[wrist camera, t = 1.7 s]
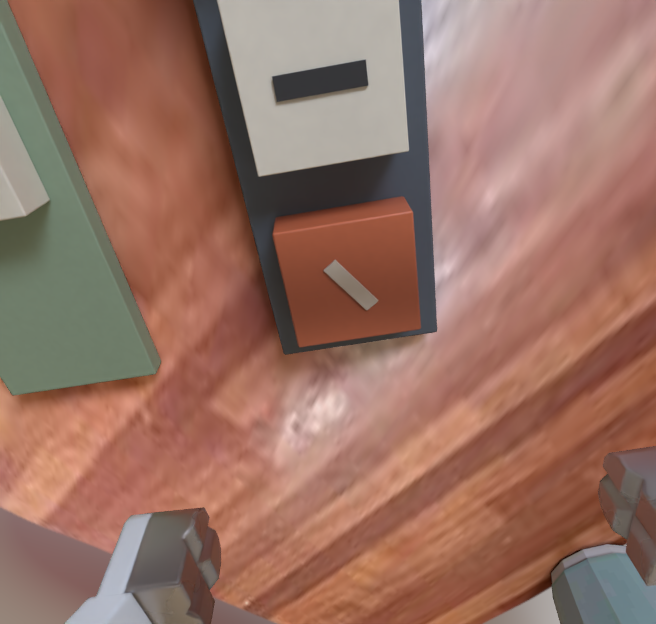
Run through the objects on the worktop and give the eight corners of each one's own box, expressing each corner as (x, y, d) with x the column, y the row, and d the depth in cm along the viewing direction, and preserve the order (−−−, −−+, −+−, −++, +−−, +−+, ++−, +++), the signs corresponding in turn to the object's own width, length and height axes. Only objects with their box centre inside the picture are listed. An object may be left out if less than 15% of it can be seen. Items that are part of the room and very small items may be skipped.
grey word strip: (93, -416, 11) (31, -545, 9) (389, -489, 11) (413, -644, 8) (284, 343, 22) (281, 382, 20) (432, 320, 22) (448, 357, 19)
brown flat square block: (274, 216, 18) (271, 234, 16) (404, 195, 18) (414, 211, 16) (299, 325, 21) (298, 350, 19) (413, 307, 20) (422, 331, 19)
